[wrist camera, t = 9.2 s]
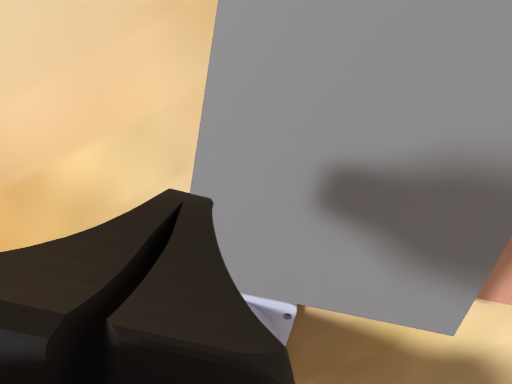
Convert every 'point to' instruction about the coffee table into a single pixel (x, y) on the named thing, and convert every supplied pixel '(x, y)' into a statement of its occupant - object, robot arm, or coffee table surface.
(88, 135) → the coffee table surface
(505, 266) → the mat
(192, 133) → the coffee table surface
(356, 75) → the deck
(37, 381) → the robot arm
